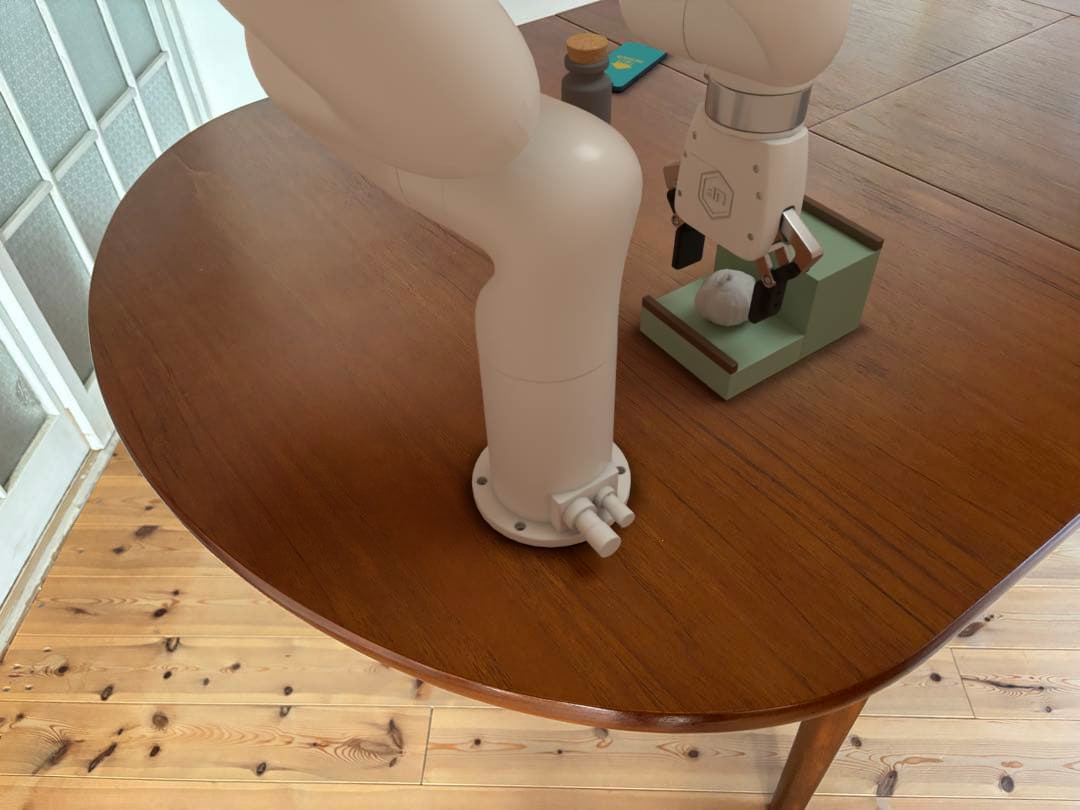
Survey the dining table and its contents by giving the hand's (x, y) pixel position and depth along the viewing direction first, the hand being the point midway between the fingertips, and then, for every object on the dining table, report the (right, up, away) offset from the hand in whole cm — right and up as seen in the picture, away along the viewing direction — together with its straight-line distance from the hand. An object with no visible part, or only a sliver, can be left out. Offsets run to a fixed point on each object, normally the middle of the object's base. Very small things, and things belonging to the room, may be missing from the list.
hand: (723, 289), depth 75 cm
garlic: (+1, -2, +3) cm, 4 cm away
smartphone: (-4, +39, +50) cm, 63 cm away
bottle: (-11, +19, +30) cm, 38 cm away
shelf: (+4, -3, +7) cm, 9 cm away
